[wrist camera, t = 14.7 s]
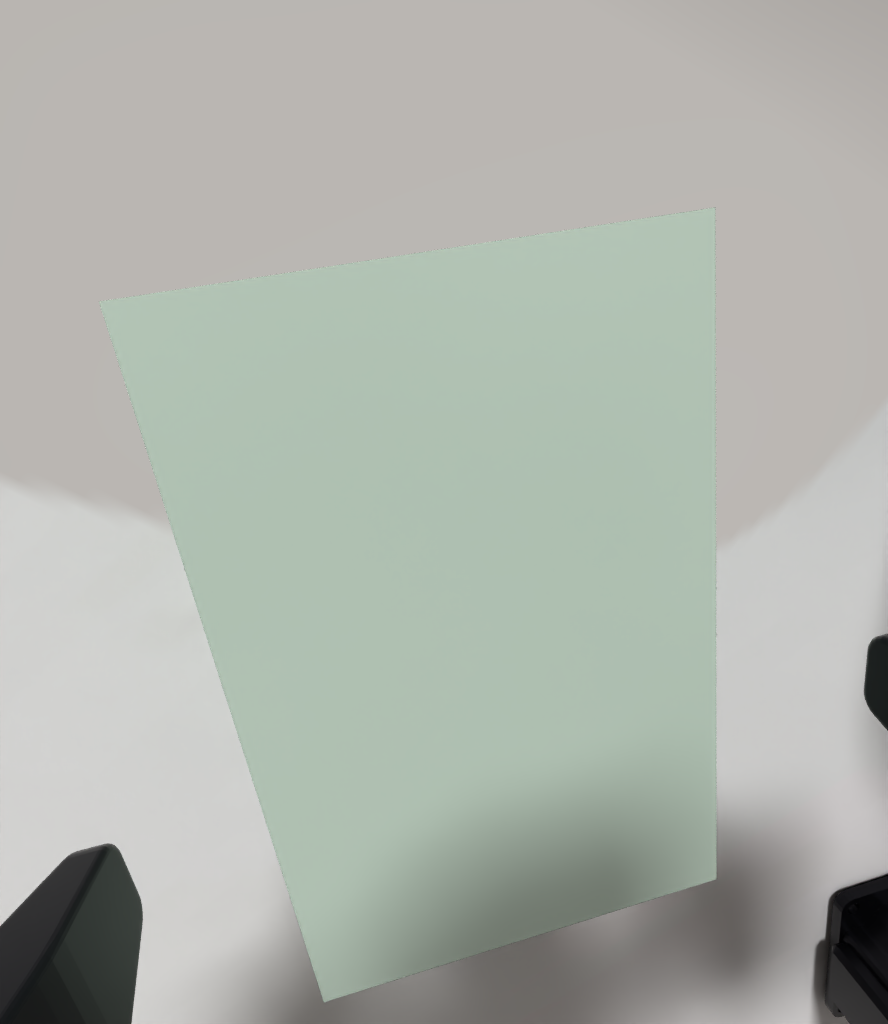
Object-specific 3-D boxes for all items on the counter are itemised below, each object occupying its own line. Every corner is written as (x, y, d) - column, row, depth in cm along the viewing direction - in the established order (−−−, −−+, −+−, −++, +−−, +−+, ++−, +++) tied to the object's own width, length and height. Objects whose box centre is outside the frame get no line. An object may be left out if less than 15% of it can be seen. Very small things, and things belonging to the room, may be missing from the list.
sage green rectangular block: (544, 246, 14) (715, 207, 8) (583, 689, 18) (716, 879, 12) (194, 301, 13) (99, 301, 7) (318, 757, 17) (323, 1002, 11)
